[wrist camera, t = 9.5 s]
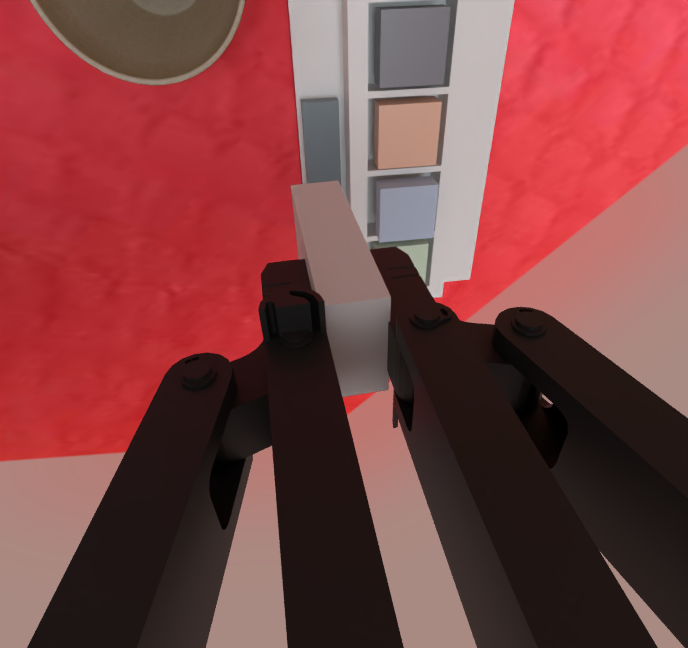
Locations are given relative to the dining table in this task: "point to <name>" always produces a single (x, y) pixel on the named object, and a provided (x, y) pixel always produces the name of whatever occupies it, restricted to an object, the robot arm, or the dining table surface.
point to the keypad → (361, 90)
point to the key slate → (405, 208)
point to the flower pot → (144, 35)
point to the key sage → (411, 252)
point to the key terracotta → (406, 131)
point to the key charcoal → (411, 45)
